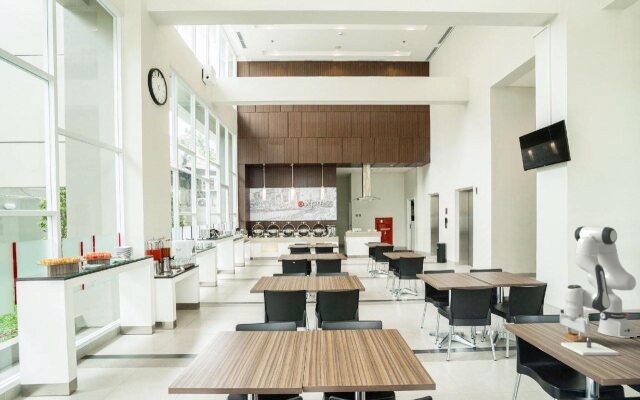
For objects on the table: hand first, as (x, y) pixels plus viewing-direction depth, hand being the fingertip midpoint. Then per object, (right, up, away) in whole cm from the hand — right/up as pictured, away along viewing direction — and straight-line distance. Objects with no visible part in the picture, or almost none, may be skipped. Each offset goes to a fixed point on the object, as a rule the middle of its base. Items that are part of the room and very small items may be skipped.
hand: (574, 336), depth 226 cm
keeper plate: (-4, -1, -18) cm, 19 cm away
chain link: (0, -2, 0) cm, 2 cm away
